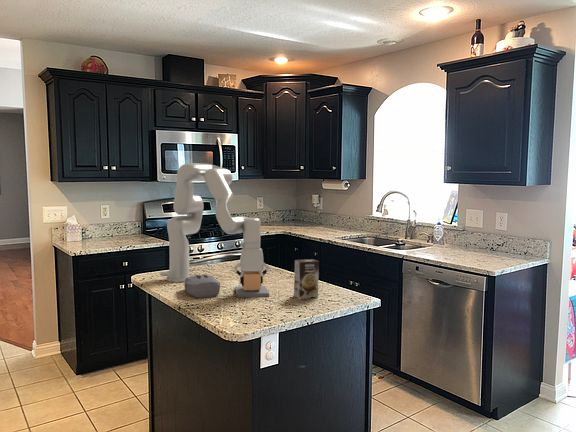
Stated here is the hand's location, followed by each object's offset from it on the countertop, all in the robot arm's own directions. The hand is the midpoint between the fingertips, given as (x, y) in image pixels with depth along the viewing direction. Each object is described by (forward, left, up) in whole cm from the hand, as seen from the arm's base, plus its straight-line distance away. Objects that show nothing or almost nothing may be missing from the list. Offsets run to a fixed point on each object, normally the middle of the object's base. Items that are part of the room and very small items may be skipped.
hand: (251, 284), depth 212 cm
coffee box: (+23, -9, -4) cm, 25 cm away
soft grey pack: (-22, +4, -4) cm, 23 cm away
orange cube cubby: (0, 0, -1) cm, 1 cm away
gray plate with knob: (0, 0, -4) cm, 4 cm away
